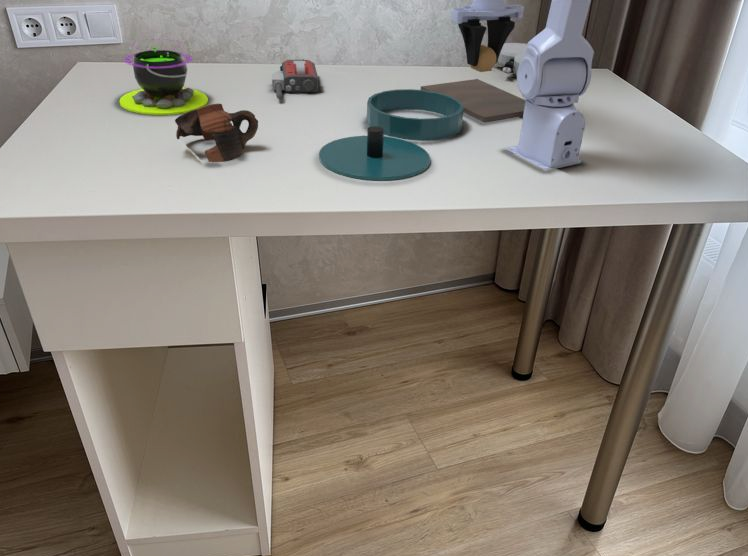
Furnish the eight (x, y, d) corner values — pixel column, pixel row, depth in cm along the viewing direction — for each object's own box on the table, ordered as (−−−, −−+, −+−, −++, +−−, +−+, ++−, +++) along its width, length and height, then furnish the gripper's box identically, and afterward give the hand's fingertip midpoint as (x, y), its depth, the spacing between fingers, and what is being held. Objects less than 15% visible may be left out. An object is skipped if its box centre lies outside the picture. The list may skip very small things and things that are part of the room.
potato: (499, 72, 125) (502, 48, 122) (481, 74, 123) (484, 50, 121) (480, 64, 129) (482, 41, 126) (462, 66, 127) (465, 43, 124)
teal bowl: (479, 135, 118) (482, 111, 116) (399, 149, 110) (401, 124, 108) (426, 106, 129) (428, 85, 126) (350, 118, 121) (350, 95, 119)
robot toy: (555, 86, 147) (538, 62, 158) (560, 64, 144) (542, 41, 155) (499, 85, 146) (485, 60, 157) (502, 63, 143) (488, 39, 154)
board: (542, 114, 129) (543, 107, 128) (483, 124, 122) (484, 117, 122) (476, 84, 142) (477, 78, 141) (420, 92, 136) (420, 86, 135)
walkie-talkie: (271, 74, 140) (273, 105, 124) (269, 50, 137) (272, 80, 122) (314, 74, 142) (322, 105, 126) (314, 51, 139) (322, 80, 123)
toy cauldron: (187, 119, 116) (179, 49, 110) (103, 109, 118) (89, 40, 111) (220, 93, 128) (214, 29, 122) (143, 84, 130) (133, 21, 123)
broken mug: (192, 173, 100) (167, 116, 97) (193, 177, 108) (170, 125, 106) (270, 144, 102) (248, 88, 100) (265, 151, 111) (244, 99, 109)
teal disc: (451, 172, 104) (454, 139, 101) (353, 192, 96) (354, 157, 93) (392, 136, 115) (393, 105, 112) (300, 151, 107) (298, 118, 104)
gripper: (509, -27, 123) (499, 54, 131) (443, -24, 116) (436, 61, 124) (536, -20, 118) (523, 64, 126) (468, -16, 112) (459, 72, 120)
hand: (482, 63), depth 125 cm, fingers closed on potato, 4 cm apart
